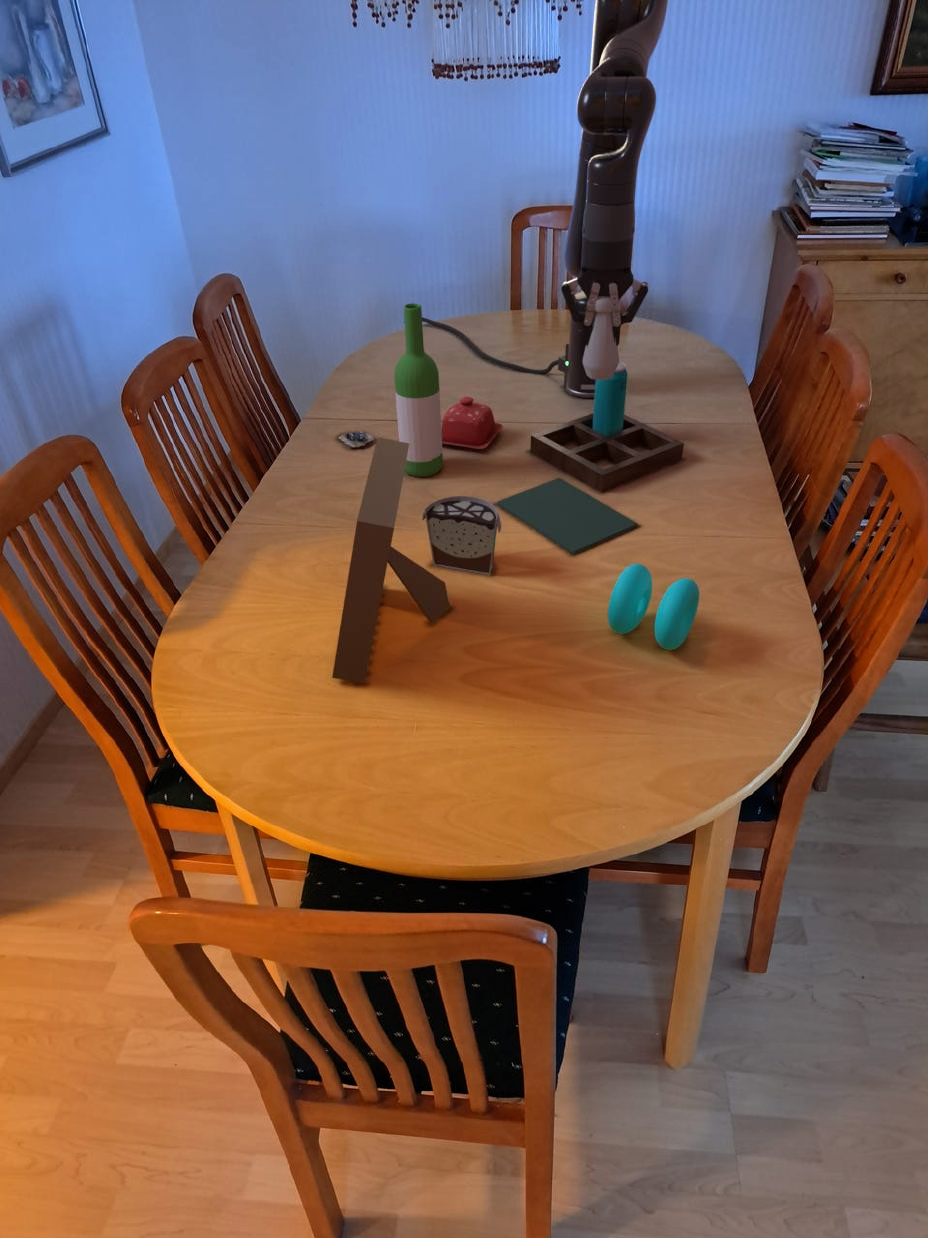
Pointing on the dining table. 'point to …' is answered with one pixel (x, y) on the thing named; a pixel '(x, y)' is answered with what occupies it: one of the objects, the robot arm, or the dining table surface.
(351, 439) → the blueberries
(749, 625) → the dining table surface
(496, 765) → the dining table surface
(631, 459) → the stand
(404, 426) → the wine bottle
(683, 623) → the donuts
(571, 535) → the placemat
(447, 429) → the butter dish
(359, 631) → the photo frame
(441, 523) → the food container
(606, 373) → the salt shaker
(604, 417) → the beverage can
